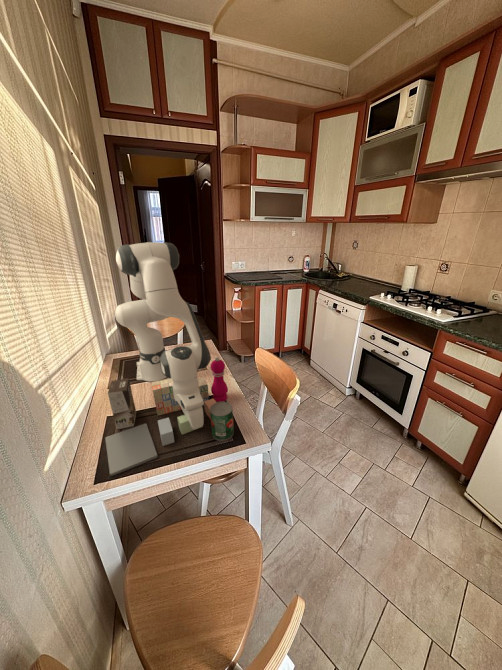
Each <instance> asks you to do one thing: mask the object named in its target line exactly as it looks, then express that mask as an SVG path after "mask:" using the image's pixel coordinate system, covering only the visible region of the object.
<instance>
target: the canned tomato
mask: <svg viewBox="0 0 502 670" xmlns="http://www.w3.org/2000/svg"><path fill="white" fill-rule="evenodd" d="M233 407H234V406H233V404H231V403H230V402H227V401H224V402H223V401H222V402H217V403H214V404H213V405H212V406H211V407H210V415H211V419H210V425H211V435H212V437H213V439H214V440H215V441H220V442H223V441H224V442H225V441H228V440H230V439H231V438H232V437H233V436H234V433H235V431H234V428H235V427H234V409H233Z"/></svg>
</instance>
